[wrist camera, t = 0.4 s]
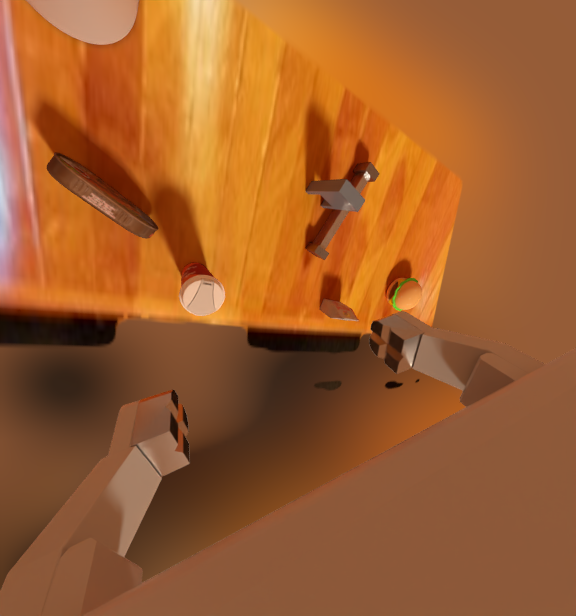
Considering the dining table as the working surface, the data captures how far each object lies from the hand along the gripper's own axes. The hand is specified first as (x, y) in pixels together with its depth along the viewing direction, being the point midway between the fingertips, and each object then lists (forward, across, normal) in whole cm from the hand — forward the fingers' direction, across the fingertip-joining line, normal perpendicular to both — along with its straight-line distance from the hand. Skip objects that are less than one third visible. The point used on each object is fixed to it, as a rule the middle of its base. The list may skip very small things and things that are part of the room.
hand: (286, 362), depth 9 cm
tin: (+47, +14, -4) cm, 49 cm away
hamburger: (+49, -59, +35) cm, 85 cm away
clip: (+49, -28, 0) cm, 56 cm away
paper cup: (+46, +5, +13) cm, 48 cm away
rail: (+49, -33, +5) cm, 59 cm away
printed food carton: (+48, -31, +32) cm, 65 cm away
